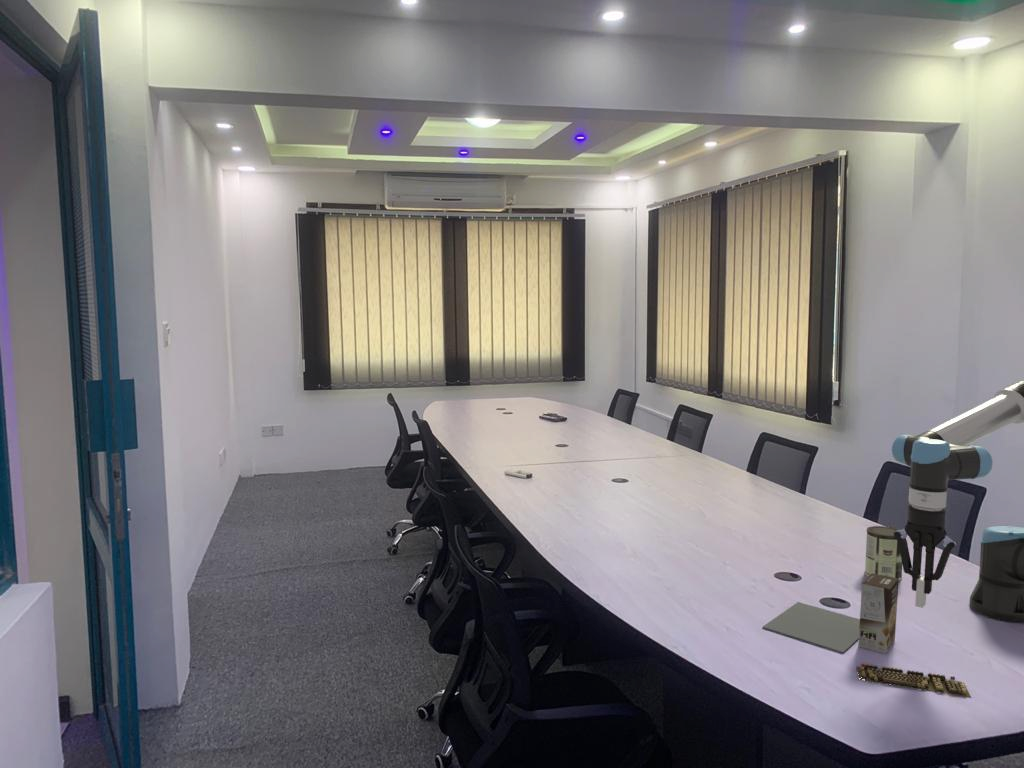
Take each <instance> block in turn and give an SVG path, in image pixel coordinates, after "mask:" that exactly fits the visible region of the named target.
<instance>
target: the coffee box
mask: <svg viewBox="0 0 1024 768" xmlns="http://www.w3.org/2000/svg"><path fill="white" fill-rule="evenodd" d="M899 582H900V580H899V579H898V578H893V577H889V576H884V575H877V574H873V573H872V574H871V575H870V576H869V577H868V576H867V577H866V578H865V579H864V580H863V581H862V582H861V597H860V613H859V619H860V627H859V640H858V644H857V646H858V647H859V648H863V649H867V650H871V651H874V652H877V653H881V654H884V655H885V654H887V652H888V651H889V650H890V648H891V647H892V645H893V644H894V643H895V641H896V630H897V629H896V628H897V611H898V610H897V609H898V597H899V596H898V594H899Z"/></svg>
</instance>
